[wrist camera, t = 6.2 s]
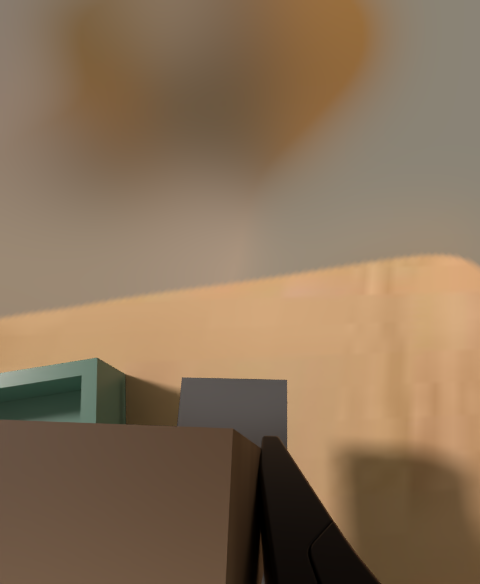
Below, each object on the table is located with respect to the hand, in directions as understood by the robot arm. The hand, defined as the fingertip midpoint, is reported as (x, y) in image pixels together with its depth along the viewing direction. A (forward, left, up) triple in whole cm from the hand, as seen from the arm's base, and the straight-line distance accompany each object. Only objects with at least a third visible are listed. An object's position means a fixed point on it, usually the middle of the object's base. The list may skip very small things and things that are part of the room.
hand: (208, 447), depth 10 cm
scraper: (-1, +1, -7) cm, 7 cm away
